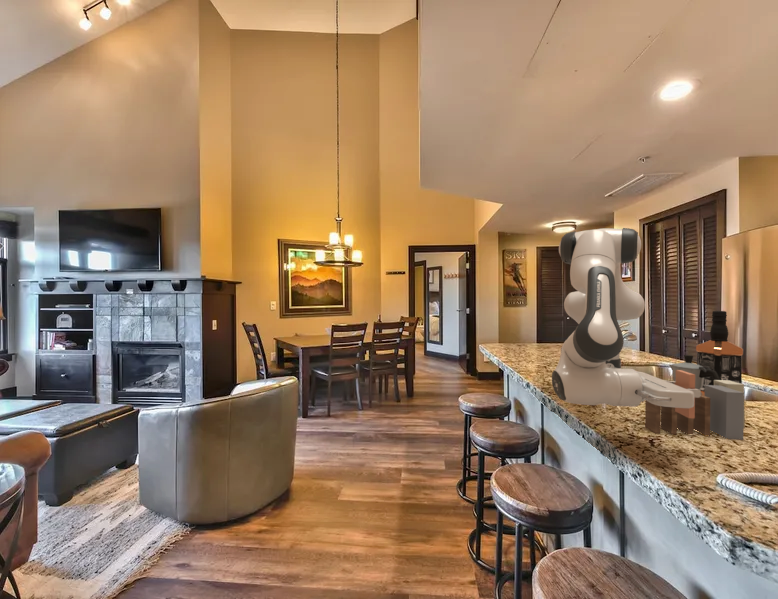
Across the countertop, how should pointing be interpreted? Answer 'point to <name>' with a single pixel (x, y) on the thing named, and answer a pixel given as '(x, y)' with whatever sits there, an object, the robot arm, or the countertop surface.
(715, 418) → the end block
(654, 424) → the walnut domino
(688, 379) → the terracotta domino
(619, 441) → the countertop surface
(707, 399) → the walnut domino
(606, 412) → the countertop surface
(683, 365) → the coffee maker
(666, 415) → the walnut domino
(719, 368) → the whiskey bottle
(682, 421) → the walnut domino
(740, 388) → the skincare box
